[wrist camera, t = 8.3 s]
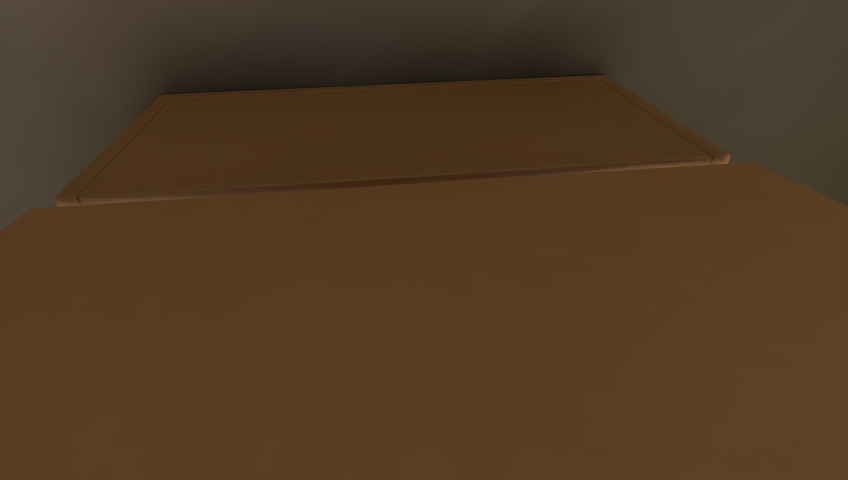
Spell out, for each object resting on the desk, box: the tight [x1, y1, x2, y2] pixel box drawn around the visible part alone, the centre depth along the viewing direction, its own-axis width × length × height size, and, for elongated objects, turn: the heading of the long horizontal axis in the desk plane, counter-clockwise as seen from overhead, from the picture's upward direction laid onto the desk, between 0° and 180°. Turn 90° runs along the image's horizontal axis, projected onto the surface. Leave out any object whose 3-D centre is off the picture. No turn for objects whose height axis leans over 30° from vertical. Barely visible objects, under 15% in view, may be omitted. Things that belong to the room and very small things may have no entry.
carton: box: [55, 75, 730, 207], centre depth 15 cm, size 13×13×7 cm
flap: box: [0, 162, 848, 480], centre depth 6 cm, size 6×13×1 cm
